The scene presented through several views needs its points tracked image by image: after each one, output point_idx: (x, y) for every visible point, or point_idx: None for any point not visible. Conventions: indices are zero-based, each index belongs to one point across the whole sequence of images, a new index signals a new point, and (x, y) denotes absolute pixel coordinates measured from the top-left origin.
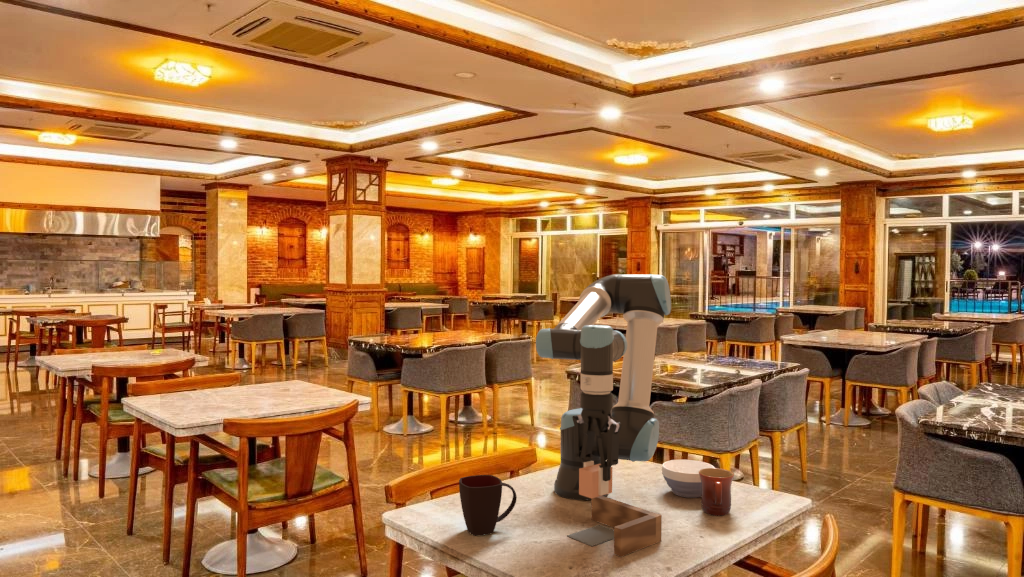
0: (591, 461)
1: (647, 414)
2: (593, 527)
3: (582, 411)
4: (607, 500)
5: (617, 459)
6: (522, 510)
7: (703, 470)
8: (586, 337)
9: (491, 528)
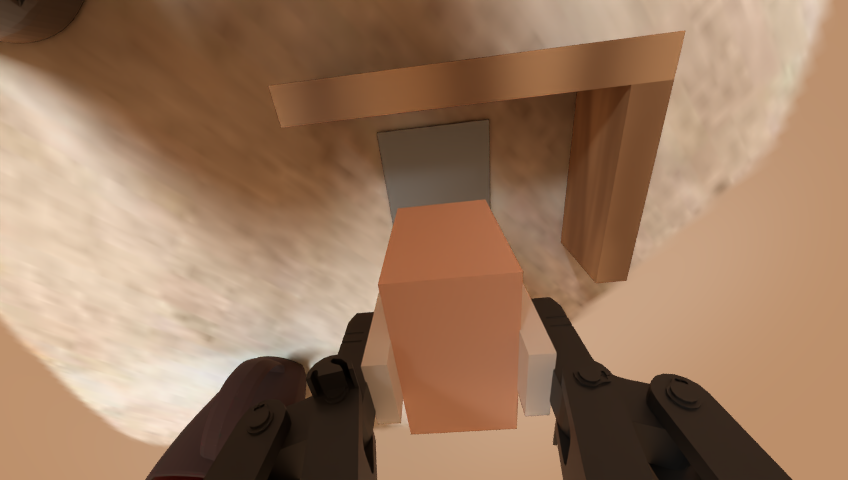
0: (385, 379)
1: None
2: (388, 167)
3: None
4: (374, 111)
5: (733, 430)
6: (165, 244)
7: None
8: None
9: (304, 381)
